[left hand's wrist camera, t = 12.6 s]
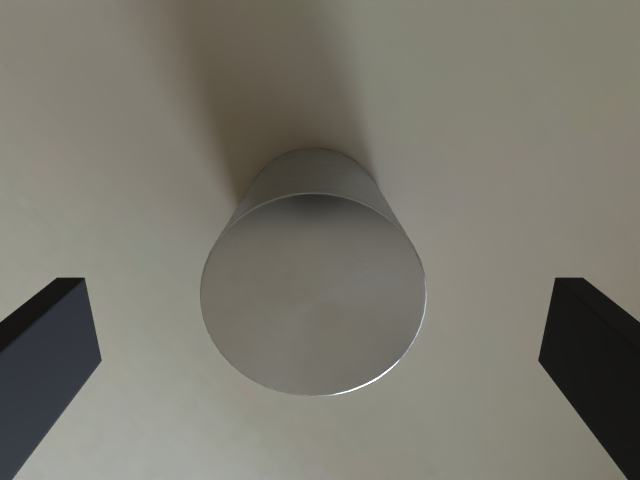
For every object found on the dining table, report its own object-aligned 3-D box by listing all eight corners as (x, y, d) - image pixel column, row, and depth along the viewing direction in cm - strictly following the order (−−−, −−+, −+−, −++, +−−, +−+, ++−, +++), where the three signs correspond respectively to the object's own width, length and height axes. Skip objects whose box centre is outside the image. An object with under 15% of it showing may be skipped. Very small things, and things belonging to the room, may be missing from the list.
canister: (249, 283, 25) (211, 399, 16) (238, 149, 23) (186, 195, 14) (381, 279, 25) (421, 394, 16) (385, 146, 23) (433, 188, 14)
